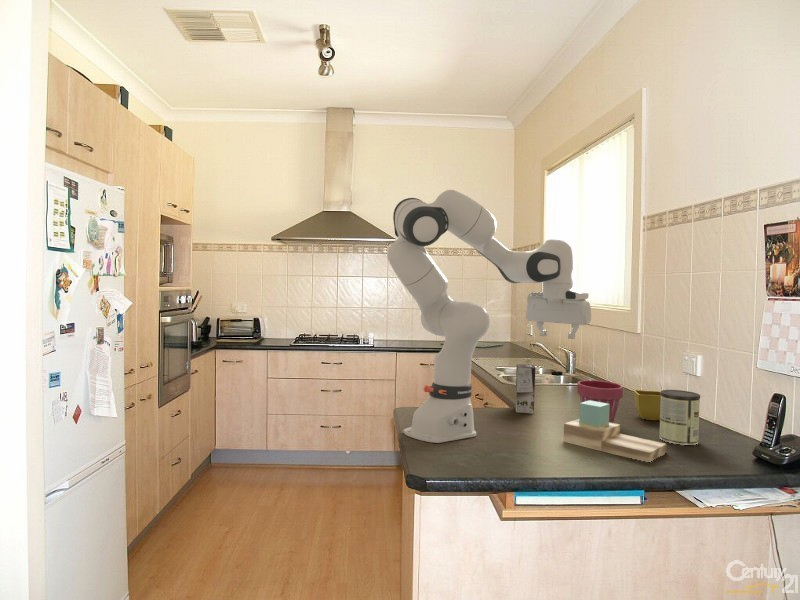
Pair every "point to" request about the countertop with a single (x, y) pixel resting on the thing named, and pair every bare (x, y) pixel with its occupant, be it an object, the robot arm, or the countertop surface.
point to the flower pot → (648, 404)
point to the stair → (612, 441)
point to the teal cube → (594, 414)
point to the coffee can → (679, 417)
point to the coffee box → (525, 388)
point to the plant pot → (601, 394)
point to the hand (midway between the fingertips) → (557, 337)
